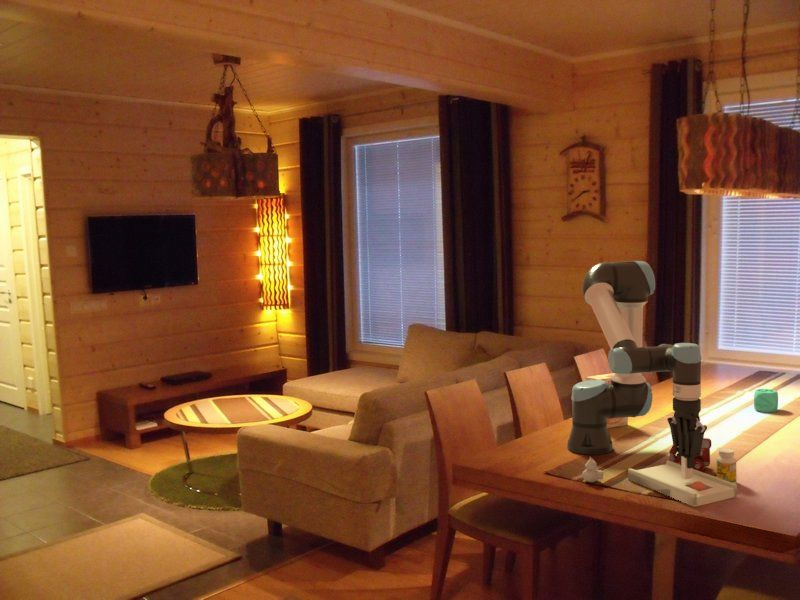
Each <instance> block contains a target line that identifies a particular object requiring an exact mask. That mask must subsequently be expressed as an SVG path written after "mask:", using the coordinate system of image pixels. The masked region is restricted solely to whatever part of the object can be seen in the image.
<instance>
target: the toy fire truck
mask: <svg viewBox="0 0 800 600" xmlns="http://www.w3.org/2000/svg"><path fill="white" fill-rule="evenodd" d="M678 447H679V446H678ZM711 448H712V439H710V438H709V437H708V438H707V437H703V442H702V447H701V452H700V455H699V456H695V457H694V467H693V468H692V469H694V470H697V471H700V472H703V471H704V470H705V468H707V467H709V466H710V465H711ZM669 461H672V462H674V463H677V464H680V455H679V453H678V452H675V451H674V446H673V445H672V446H671V448H670V450H669Z"/></svg>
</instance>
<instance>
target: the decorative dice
mask: <svg viewBox="0 0 800 600" xmlns="http://www.w3.org/2000/svg"><path fill="white" fill-rule="evenodd" d="M778 392H779V391H777V390H775V389H769V388H757V389H755V391H754V396H753V407H754V410H755V411H756V412H759V413H775V412H778V408H779V393H778Z"/></svg>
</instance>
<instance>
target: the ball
mask: <svg viewBox="0 0 800 600" xmlns="http://www.w3.org/2000/svg"><path fill="white" fill-rule="evenodd" d="M691 488H692V489H695V490H697V491H702V490H706V487H705V485H704V484H703V483H702V482H699V481H697V482H694V483H693V484H692V485H691Z"/></svg>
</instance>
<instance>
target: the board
mask: <svg viewBox="0 0 800 600" xmlns="http://www.w3.org/2000/svg"><path fill="white" fill-rule="evenodd" d="M627 473H628V474H627V475H628V476H627V481H629V480H630V482H632V481H633V482H632V483H634V482H635V484H637V483H638V484H637V485H639V484H640V485H639V486H642V485H643V486H642V487H644V486H645V488H646V487H648V488H647V489H649V488H651V489H653V490H652V491H654V490H656V491H658V492H657V493H659V492H660V493H659V494H661V493H663V494H665V495H664V496H666V495H667V496H666V497H668V496H670V497H669V498H671V497H672V498H671V499H673V498H674V499H673V500H676V501H678V500H679V501H678V502H680V501H681V503H683V504H685V503H686V505H687V506H689V507H690V506H691V507H693V508H695V507H699V506H700V507H701V506H704V505H707V504H708V505H709V504H712V503H713V504H714V503H716V502H721V501H724V500H728V499H731V498H736V497H737V496H738V489H737V488H738V484H737V483H735V484H734V483H731V482H728V481H726V480H723V479H720V478H717V476H714V475H711V474H708V473H705V472H703V471H702V472H700V471H697V470H694V469H692V478H690V479H686V480H685V479H682V478H681V465H680V464H677V463H674V462H672V461H670V459H669V460H666V461H665V464H660V465H655V466H651V467H646V468H641V469H634V468H628V469H627ZM697 481H699V482H702V483H703V484H704V485H705V487H706V490H702V491H697V490H695V489H692V488H691V485H692V484H693V483H694V482H697ZM651 489H650V490H651ZM656 491H655V492H656ZM663 494H662V495H663ZM737 498H738V497H737Z"/></svg>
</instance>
